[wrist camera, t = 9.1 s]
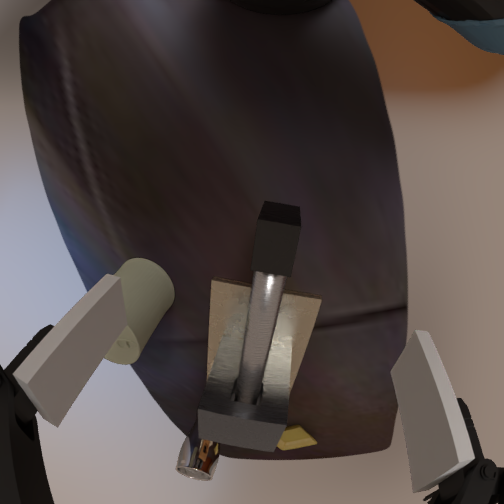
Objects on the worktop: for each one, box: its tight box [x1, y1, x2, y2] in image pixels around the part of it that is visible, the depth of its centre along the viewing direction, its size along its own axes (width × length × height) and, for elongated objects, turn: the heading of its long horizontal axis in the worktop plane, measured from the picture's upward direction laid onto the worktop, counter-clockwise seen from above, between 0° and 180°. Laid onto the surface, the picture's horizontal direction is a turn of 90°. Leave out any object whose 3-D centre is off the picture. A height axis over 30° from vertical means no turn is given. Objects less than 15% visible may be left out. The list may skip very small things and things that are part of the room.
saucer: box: [277, 424, 317, 450], centre depth 51 cm, size 9×9×2 cm
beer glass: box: [176, 408, 220, 481], centre depth 44 cm, size 7×7×15 cm
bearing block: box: [198, 276, 322, 452], centre depth 36 cm, size 26×14×14 cm, turn 173°
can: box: [104, 258, 175, 365], centre depth 34 cm, size 9×9×12 cm
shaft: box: [234, 201, 301, 405], centre depth 28 cm, size 27×3×5 cm, turn 173°
